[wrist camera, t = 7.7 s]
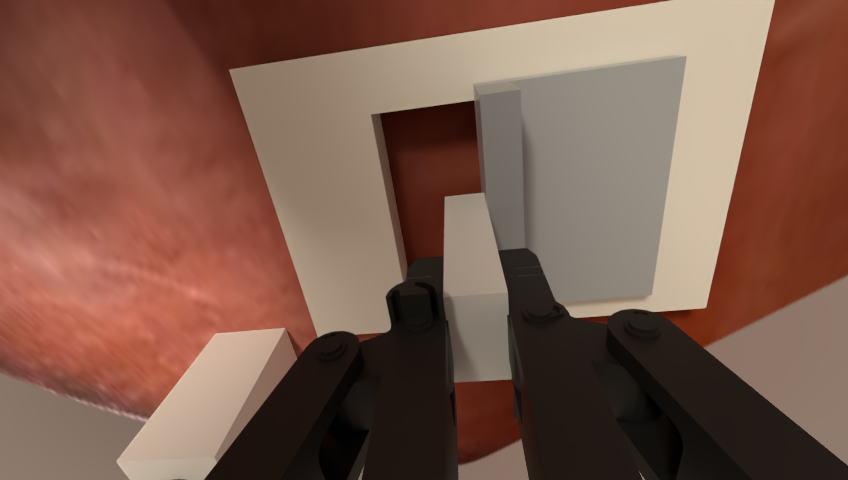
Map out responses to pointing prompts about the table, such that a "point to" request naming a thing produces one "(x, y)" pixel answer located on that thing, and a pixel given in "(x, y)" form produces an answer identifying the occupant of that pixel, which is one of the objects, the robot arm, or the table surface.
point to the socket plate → (453, 82)
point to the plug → (209, 406)
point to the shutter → (582, 171)
